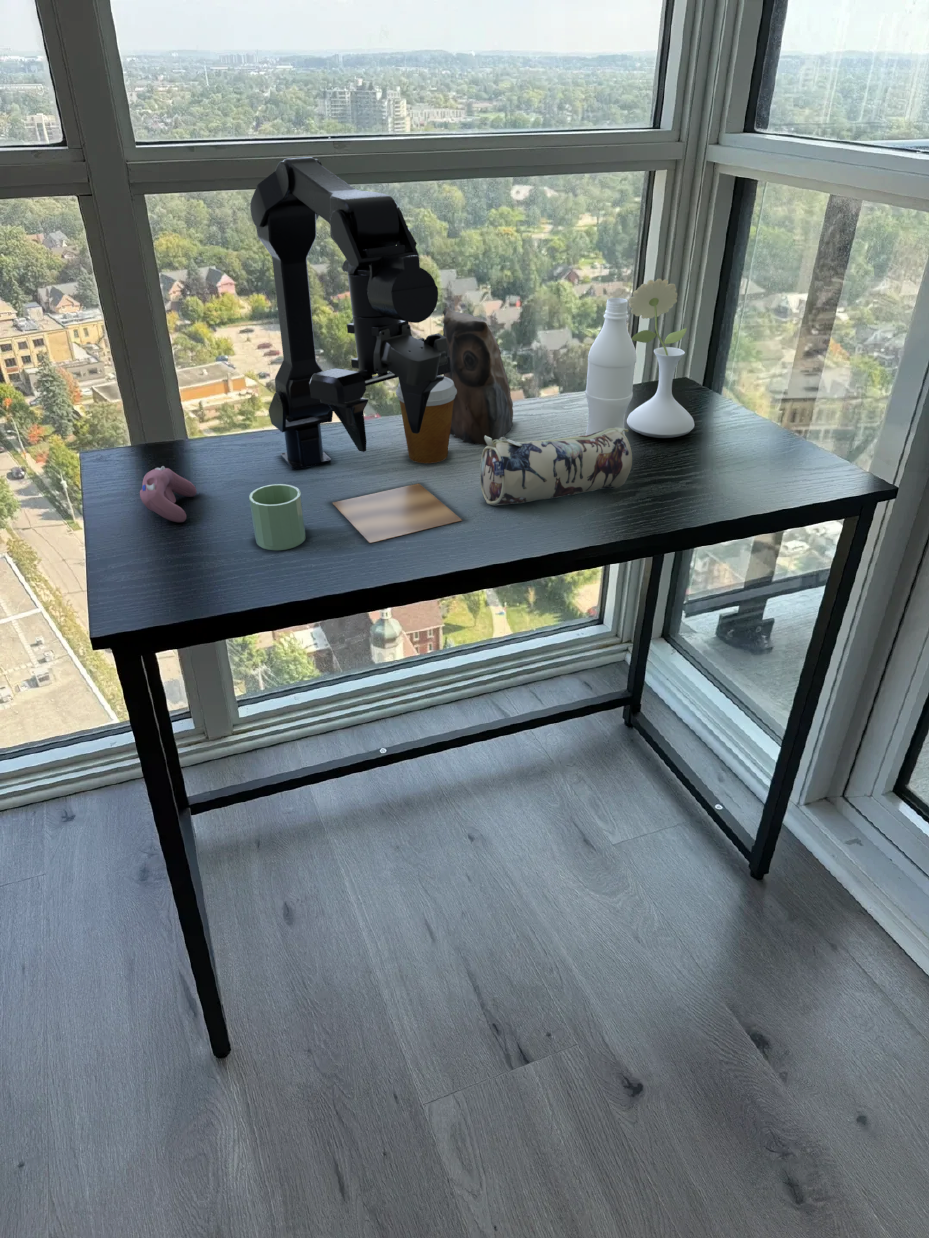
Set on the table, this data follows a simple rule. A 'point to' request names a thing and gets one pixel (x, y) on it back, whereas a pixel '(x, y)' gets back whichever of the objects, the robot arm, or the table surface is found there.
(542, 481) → the pencil case
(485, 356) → the owl
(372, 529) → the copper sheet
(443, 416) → the disposable coffee cup
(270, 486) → the glazed cup
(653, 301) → the flower in vase
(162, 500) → the video game controller
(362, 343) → the robot arm
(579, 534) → the table surface
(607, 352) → the water bottle
